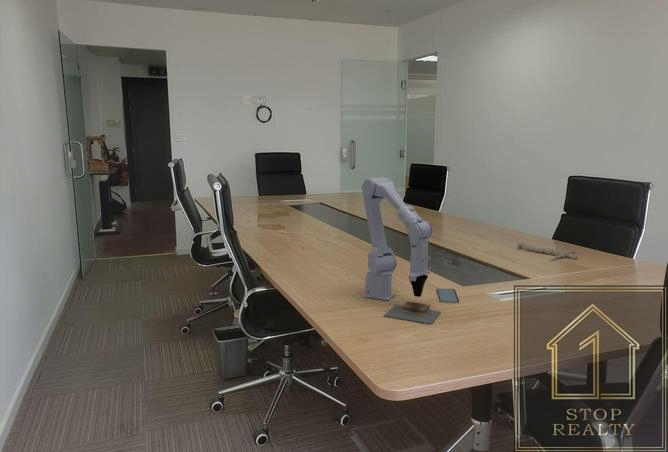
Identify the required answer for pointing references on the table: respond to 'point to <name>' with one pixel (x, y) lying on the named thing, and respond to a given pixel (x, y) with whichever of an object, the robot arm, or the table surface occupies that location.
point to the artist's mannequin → (549, 251)
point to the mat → (412, 315)
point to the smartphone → (447, 295)
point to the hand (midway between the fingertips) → (417, 296)
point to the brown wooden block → (416, 307)
